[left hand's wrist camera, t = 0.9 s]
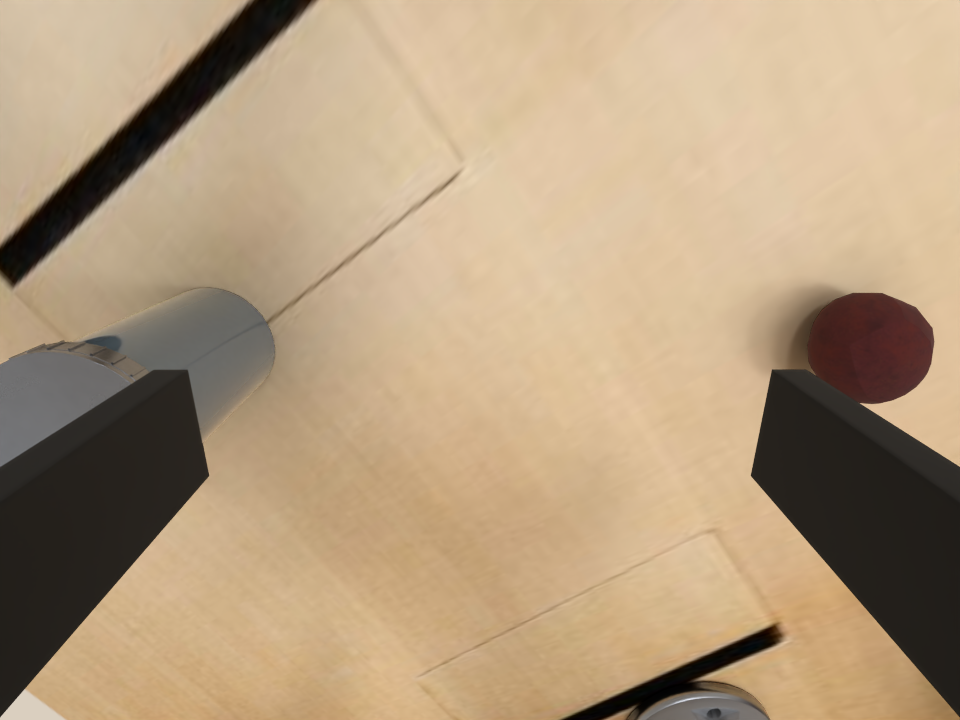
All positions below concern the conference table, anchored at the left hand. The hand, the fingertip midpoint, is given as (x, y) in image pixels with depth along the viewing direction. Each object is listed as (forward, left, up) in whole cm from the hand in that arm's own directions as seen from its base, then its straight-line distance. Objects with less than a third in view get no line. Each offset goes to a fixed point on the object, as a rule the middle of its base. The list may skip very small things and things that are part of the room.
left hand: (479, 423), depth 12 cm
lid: (+7, -20, -13) cm, 25 cm away
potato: (+6, +27, -28) cm, 39 cm away
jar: (+7, -20, -28) cm, 35 cm away
